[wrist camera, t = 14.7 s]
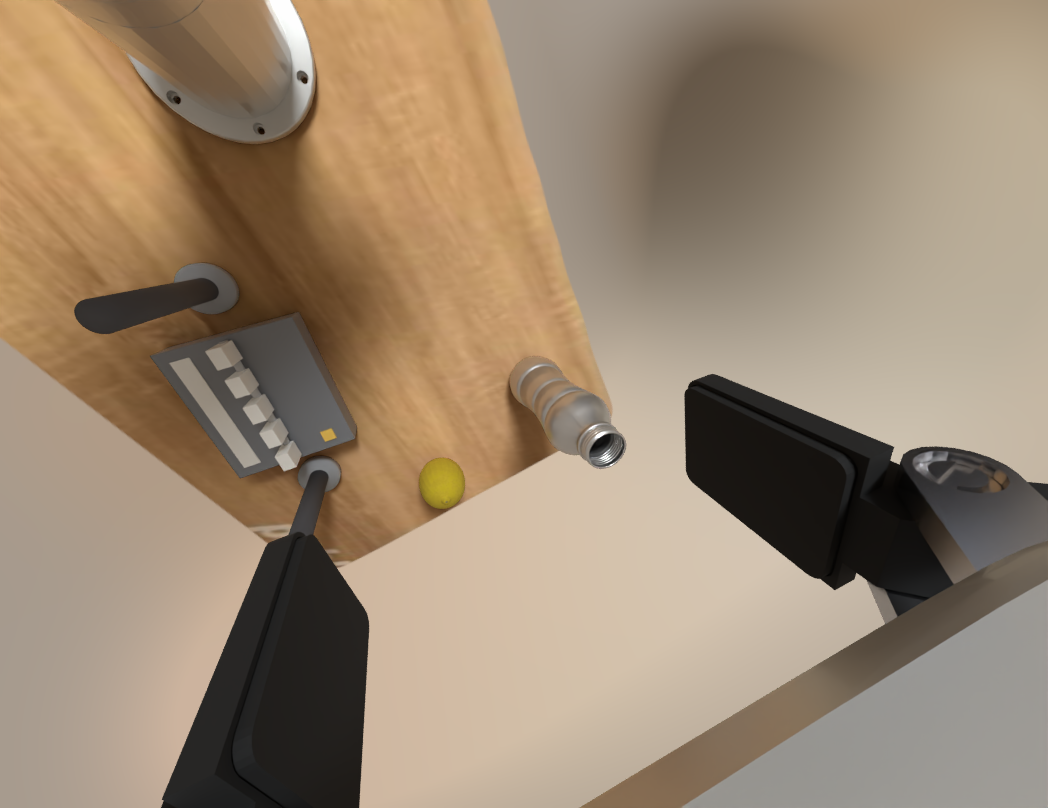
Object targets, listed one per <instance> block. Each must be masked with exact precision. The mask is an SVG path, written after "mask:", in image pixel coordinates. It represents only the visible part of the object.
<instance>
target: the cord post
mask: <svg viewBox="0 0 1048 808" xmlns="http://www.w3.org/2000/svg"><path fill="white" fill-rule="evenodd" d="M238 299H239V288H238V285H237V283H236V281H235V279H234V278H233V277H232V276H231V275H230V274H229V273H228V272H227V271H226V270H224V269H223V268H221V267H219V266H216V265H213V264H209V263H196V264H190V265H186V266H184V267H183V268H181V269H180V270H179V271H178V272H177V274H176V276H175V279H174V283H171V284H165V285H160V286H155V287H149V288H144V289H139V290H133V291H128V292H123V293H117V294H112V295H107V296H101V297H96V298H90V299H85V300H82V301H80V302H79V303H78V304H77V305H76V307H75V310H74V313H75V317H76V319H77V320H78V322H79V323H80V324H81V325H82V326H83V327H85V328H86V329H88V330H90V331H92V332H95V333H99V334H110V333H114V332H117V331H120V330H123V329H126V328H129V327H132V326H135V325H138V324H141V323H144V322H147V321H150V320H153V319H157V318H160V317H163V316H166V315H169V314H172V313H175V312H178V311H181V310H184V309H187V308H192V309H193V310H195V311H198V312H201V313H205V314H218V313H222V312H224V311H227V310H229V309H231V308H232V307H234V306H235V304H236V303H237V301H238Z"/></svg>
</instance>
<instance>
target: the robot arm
mask: <svg viewBox="0 0 1048 808" xmlns="http://www.w3.org/2000/svg"><path fill="white" fill-rule="evenodd" d="M54 1H55V2H57V3H58V4H60V5H61V6H62V7H64V8H65V9H67V10H68V11H69V12H71V13H72V14H73V15H75V16H76V17H78V18H79V19H80V20H82V21H83V22H85V23H86V24H87V25H89V26H90V27H92V28H93V29H94V30H96V31H97V32H99V33H100V34H101V35H103V36H104V37H105V38H107V39H108V40H110V41H111V42H112V43H114V44H115V45H117V46H118V47H119V48H121V49H122V50H124V51H125V52H126V54H127V56H128V58H129V59H130V61H131V62H132V64H133V66H134V67H135V69H136V70H137V72H138V73H139V75H140V76H141V77H142V79H143V80H144V81H145V82H146V83H147V85H148V86H149V87H150V88H151V89H152V91H153V92H154V93H155V94H156V95H157V96H158V97H159V98H160V99H161V100H162V101H163V102H165V103H166V104H167V105H168V106H169V107H170V108H171V109H172V110H173V111H175V112H176V113H178V114H179V115H180V116H182V117H183V118H185V119H186V120H187V121H189V122H190V123H192V124H194V125H195V126H197V127H199V128H200V129H202V130H204V131H206V132H208V133H211V134H213V135H215V136H218V137H220V138H222V139H226V140H230V141H234V142H238V143H247V144H261V143H269V142H273V141H276V140H278V139H281V138H284V137H285V136H287V135H288V134H290V133H291V132H293V131H294V130H295V129H297V127H298V126H299V125H300V124H301V123H302V121H303V120H304V119H305V117H306V115H307V113H308V111H309V109H310V107H311V105H312V101H313V97H314V93H315V82H316V70H315V62H314V55H313V51H312V48H311V44H310V41H309V37H308V35H307V32H306V30H305V27H304V25H303V22H302V20H301V18H300V16H299V14H298V12H297V10H296V8H295V7H294V5H293V3H292V1H291V0H54ZM302 78H306V79H307V80H308V82H307V84H303V83H302V81H301V80H302ZM176 98H181V103H180V104H177V103H176ZM260 128H263V129H264V130H265V133H264V134H263V135H262V134H260V133H259V129H260ZM685 440H686V441H685V442H686V443H685V444H686V472H687V475H688V477H689V479H690V480H691V481H692V483H694V484H695V485H696V486H697V487H698V488H700V489H701V490H702V491H703V492H705V493H706V494H708V495H709V496H710V497H711V498H712V499H714V500H715V501H716V502H717V503H719V504H720V505H721V506H722V507H724V508H725V509H726V510H727V511H729V512H730V513H731V514H732V515H734V516H735V517H736V518H737V519H739V520H740V521H741V522H742V523H744V524H745V525H746V526H747V527H749V528H750V529H751V530H753V531H754V532H755V533H756V534H758V535H759V536H760V537H761V538H762V539H764V540H765V541H766V542H768V543H769V544H770V545H771V546H773V547H774V548H775V549H776V550H778V551H779V552H780V553H782V554H783V555H784V556H785V557H787V558H788V559H789V560H790V561H792V562H793V563H794V564H795V565H796V566H798V567H799V568H800V569H802V570H803V571H804V572H805V573H807V574H808V575H810V576H811V577H814V578H817V579H821V580H822V581H824V582H825V583H826V584H828V585H829V586H830V587H832V588H833V589H834V590H836V589H838V588H840V587H841V586H843V585H845V584H847V583H849V582H850V581H852V580H854V579H855V575H856V573H858V574H859V575H861V576H862V577H863V578H865V579H866V580H867V582H868V584H869V587H870V589H871V591H872V594H873V596H874V599H875V601H876V603H877V605H878V608H879V610H880V612H881V615H882V617H883V620H884V622H885V625H883V626H881V627H880V628H878V629H876V630H875V631H873V632H871V633H870V634H868V635H866V636H865V637H863V638H861V639H860V640H858V641H856V642H855V643H853V644H851V645H849V646H848V647H846V648H844V649H843V650H841V651H839V652H838V653H836V654H834V655H833V656H831V657H829V658H828V659H826V660H824V661H823V662H821V663H819V664H817V665H816V666H814V667H812V668H811V669H809V670H808V671H806V672H804V673H802V674H801V675H799V676H797V677H796V678H794V679H792V680H791V681H789V682H787V683H786V684H784V685H782V686H781V687H779V688H777V689H776V690H774V691H772V692H771V693H769V694H767V695H766V696H764V697H763V698H761V699H759V700H757V701H756V702H754V703H752V704H751V705H749V706H747V707H746V708H744V709H742V710H741V711H739V712H737V713H736V714H734V715H732V716H731V717H729V718H728V719H726V720H724V721H722V722H721V723H719V724H717V725H716V726H714V727H712V728H711V729H709V730H707V731H706V732H704V733H703V734H701V735H699V736H697V737H696V738H694V739H692V740H691V741H689V742H688V743H686V744H684V745H682V746H681V747H679V748H678V749H676V750H674V751H673V752H671V753H669V754H668V755H666V756H664V757H663V758H661V759H659V760H658V761H656V762H654V763H653V764H651V765H649V766H648V767H646V768H644V769H643V770H641V771H639V772H638V773H636V774H634V775H633V776H631V777H629V778H628V779H626V780H625V781H623V782H621V783H619V784H618V785H616V786H615V787H613V788H611V789H610V790H608V791H606V792H605V793H603V794H601V795H600V796H598V797H596V798H595V799H593V800H592V801H590V802H588V803H587V804H585V805H583V806H582V807H580V808H1048V484H1043V483H1032V482H1026V480H1024V479H1023V478H1022V477H1021V476H1020V475H1019V474H1018V473H1017V472H1015V471H1014V470H1012V469H1011V468H1010V467H1008V466H1007V465H1005V464H1003V463H1001V462H999V461H996V460H994V459H992V458H990V457H987V456H983V455H981V454H978V453H974V452H971V451H965V450H961V449H956V448H948V447H920V448H916V449H912V450H910V451H908V452H906V453H905V454H903V457H902V459H901V462H900V465H899V464H897V463H894V462H892V461H890V459H891V455H892V452H893V449H894V447H893V446H891V445H888V444H885V443H883V442H880V441H878V440H876V439H873V438H871V437H868V436H866V435H863V434H861V433H858V432H856V431H853V430H851V429H848V428H846V427H844V426H841V425H839V424H836V423H834V422H831V421H829V420H826V419H824V418H822V417H819V416H817V415H814V414H811V413H809V412H807V411H804V410H802V409H799V408H797V407H794V406H792V405H789V404H787V403H784V402H782V401H779V400H777V399H775V398H772V397H770V396H767V395H765V394H762V393H760V392H757V391H755V390H752V389H750V388H748V387H745V386H742V385H740V384H738V383H735V382H733V381H730V380H728V379H725V378H723V377H720V376H718V375H715V374H711V375H707V376H705V377H702V378H699V379H697V380H694V381H692V382H691V383H690V384H689V386H688V389H687V390H686V391H685ZM368 639H369V620H368V616H367V613H366V611H365V609H364V607H363V606H362V604H361V603H360V602H359V600H358V599H357V597H356V596H355V594H354V593H353V591H352V590H351V588H350V587H349V585H348V584H347V582H346V581H345V580H344V578H343V576H342V575H341V574H340V572H339V571H338V569H337V568H336V566H335V565H334V563H333V562H332V560H331V559H330V557H329V556H328V554H327V553H326V551H325V550H324V549H323V547H322V546H321V544H320V543H319V541H318V540H317V538H316V537H315V536H314V535H312V534H310V535H307V536H306V535H305V534H304V533H302V532H296V533H293V534H290V535H288V536H285V537H282V538H280V539H277V540H275V541H272V542H270V543H268V544H267V546H266V547H265V550H264V552H263V554H262V557H261V559H260V562H259V564H258V567H257V569H256V571H255V574H254V576H253V579H252V581H251V584H250V586H249V589H248V591H247V594H246V596H245V598H244V601H243V603H242V606H241V608H240V610H239V613H238V615H237V618H236V620H235V623H234V625H233V627H232V630H231V632H230V635H229V637H228V640H227V642H226V645H225V647H224V649H223V652H222V654H221V657H220V659H219V662H218V664H217V666H216V669H215V671H214V674H213V676H212V679H211V681H210V683H209V686H208V688H207V691H206V693H205V696H204V698H203V701H202V703H201V705H200V708H199V710H198V713H197V715H196V718H195V720H194V722H193V725H192V727H191V730H190V732H189V735H188V737H187V739H186V742H185V744H184V747H183V749H182V752H181V754H180V756H179V759H178V761H177V764H176V766H175V769H174V771H173V773H172V776H171V778H170V781H169V783H168V786H167V788H166V791H165V793H164V796H163V798H162V800H164V802H163V804H162V807H161V808H359V800H360V781H361V764H362V747H363V746H362V745H363V728H364V711H365V710H364V709H365V693H366V675H367V673H366V672H367V657H368V656H367V655H368Z"/></svg>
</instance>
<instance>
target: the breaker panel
mask: <svg viewBox="0 0 1048 808" xmlns="http://www.w3.org/2000/svg"><path fill="white" fill-rule="evenodd" d="M225 340H228V341H230V340H232V341H233V343H234V344H235V346H236V348H237V349H238V351H239V353H240V354H241V356H242V358H243V359H241V360H240V361H241V363H242V364H243V366H244V367H245V369H247V368H249V369H250V371H251V372H252V374H253V375H254V377H255V379H256V380H257V382H258V384H259V386H258V387H257V388H258V390H259V392H260V393H261V395H263V394H265V395H266V397H267V398H268V400H269V402H270V403H271V405H272V406H273V408H274V411H273V412H272V413H273V414H274V416H275V417H276V419H278V418H280V419H281V421H282V423H283V424H284V426H285V428H286V429H287V431H288V435H287V437H288V438H289V440H290V441H294V442H295V444H296V446H297V447H298V449H299V450H300V452H301V454H302V455H301V457H304V456H306V455H309V454H312V453H315V452H318V451H321V450H324V449H327V448H330V447H333V446H335V445H338V444H341V443H344V442H347V441H350V440H353V439H355V436H356V430H357V426H356V424H355V422H354V420H353V418H352V416H351V414H350V412H349V410H348V408H347V406H346V404H345V402H344V400H343V398H342V396H341V394H340V392H339V390H338V388H337V386H336V384H335V382H334V380H333V378H332V376H331V374H330V373H329V371H328V369H327V367H326V365H325V363H324V361H323V359H322V357H321V355H320V353H319V351H318V349H317V347H316V345H315V343H314V341H313V339H312V337H311V335H310V333H309V331H308V329H307V327H306V325H305V323H304V321H303V319H302V317H301V315H300V313H299V312H296V313H293V314H289V315H285V316H282V317H278V318H274V319H271V320H267V321H263V322H260V323H256V324H252V325H249V326H245V327H241V328H238V329H234V330H230V331H227V332H223V333H219V334H216V335H212V336H208V337H205V338H201V339H197V340H194V341H190V342H186V343H183V344H179V345H175V346H172V347H168V348H166V349H164V350H161V351H159V352H157V353H155V354H153V355H151V356H150V357H151V358H152V360H153V361H154V362H155V364H156V365H157V367H158V368H159V369H160V371H161V372H162V373H163V375H164V376H165V377H166V379H167V380H168V381H169V383H170V384H171V386H172V387H173V388H174V390H175V391H176V392H177V394H178V395H179V396H180V398H181V399H182V400H183V402H184V403H185V405H186V406H187V407H188V409H189V410H190V411H191V413H192V414H193V415H194V417H195V418H196V419H197V421H198V422H199V424H200V425H201V426H202V428H203V429H204V430H205V432H206V433H207V434H208V436H209V437H210V438H211V440H212V441H213V443H214V444H215V445H216V447H217V448H218V449H219V451H220V452H221V453H222V455H223V456H224V457H225V459H226V460H227V462H228V463H229V464H230V466H231V467H232V468H233V470H234V471H235V472H236V474H237V475H238V476H239V478H243V477H246V476H249V475H251V474H254V473H257V472H260V471H263V470H266V469H269V468H272V467H275V466H278V465H279V463H278V462H277V460H276V458H275V455H276V454H277V452H278V450H279V448H280V446H281V445H279V446H276V447H273V448H270V449H269V448H268V446H267V445H266V443H265V442H264V440H263V439H262V437H261V436H260V434H259V433H260V432H261V430H262V429H263V427H264V426H265V424H266V423H267V422H268V420H267V421H263V422H260V423H257V424H254V425H253V424H252V422H251V421H250V419H249V417H248V416H247V414H246V413H245V411H244V410H243V407H244V406H245V405H246V404H247V403H248V402H249V400H250V399H251V398H253V396H252V395H251V394H250V395H247V396H244V397H240V398H237V399H236V398H235V396H234V395H233V393H232V392H231V390H230V389H229V387H228V386H227V384H226V383H225V380H226V379H227V378H229V377H230V376H231V375H232V374H233V373H235V372H237V371H236V369H235V368H234V366H232V367H229V368H225V369H222V370H217V369H216V367H215V366H214V364H213V363H212V361H211V360H210V358H209V357H208V355H207V354H206V352H205V351H207V350H208V349H210V348H212V347H213V346H215V345H217V344H219V342H222V341H225ZM301 457H300V458H301Z"/></svg>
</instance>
